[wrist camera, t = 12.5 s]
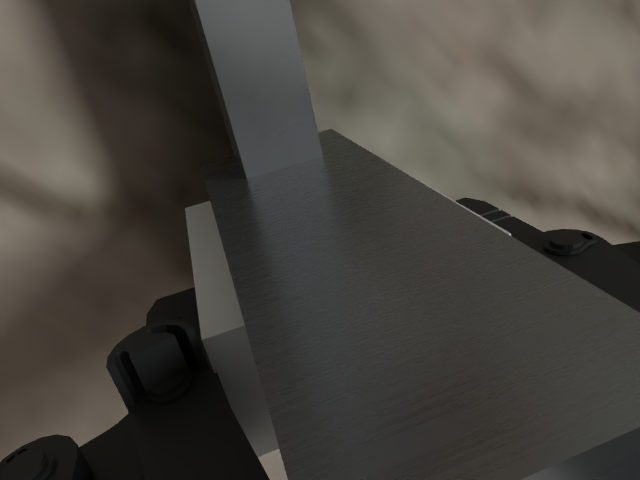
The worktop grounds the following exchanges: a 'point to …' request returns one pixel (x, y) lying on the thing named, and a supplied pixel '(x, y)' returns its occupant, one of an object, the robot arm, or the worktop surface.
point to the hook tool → (399, 299)
